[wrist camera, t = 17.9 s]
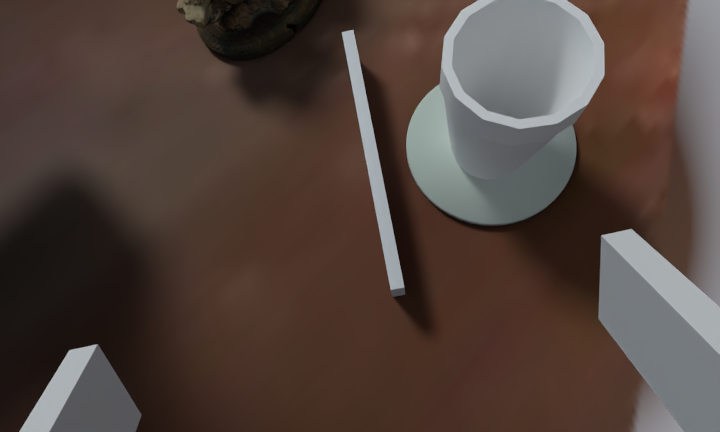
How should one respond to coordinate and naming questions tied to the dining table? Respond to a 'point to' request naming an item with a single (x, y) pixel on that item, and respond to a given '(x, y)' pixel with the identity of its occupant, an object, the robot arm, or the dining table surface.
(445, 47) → the foam cup
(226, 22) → the owl figurine
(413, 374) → the dining table surface
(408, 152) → the resting disc
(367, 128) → the acrylic wall
